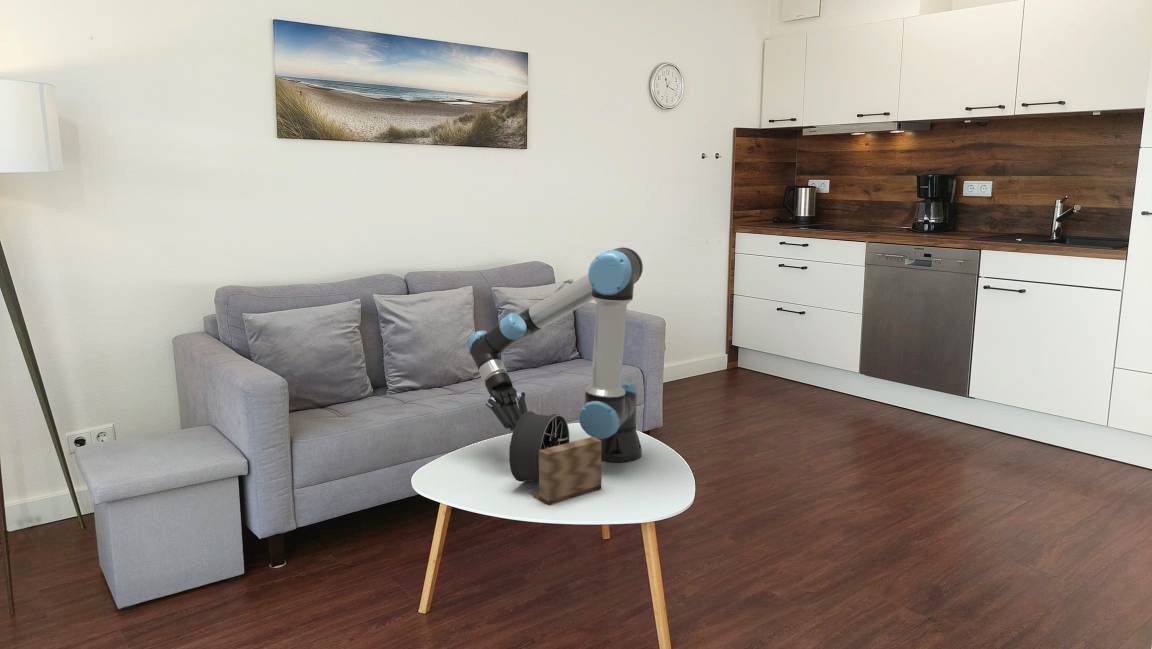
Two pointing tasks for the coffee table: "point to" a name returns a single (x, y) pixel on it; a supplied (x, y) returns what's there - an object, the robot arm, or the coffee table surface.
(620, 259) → the robot arm
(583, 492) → the stop board
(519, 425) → the wheel rim
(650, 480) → the coffee table surface
